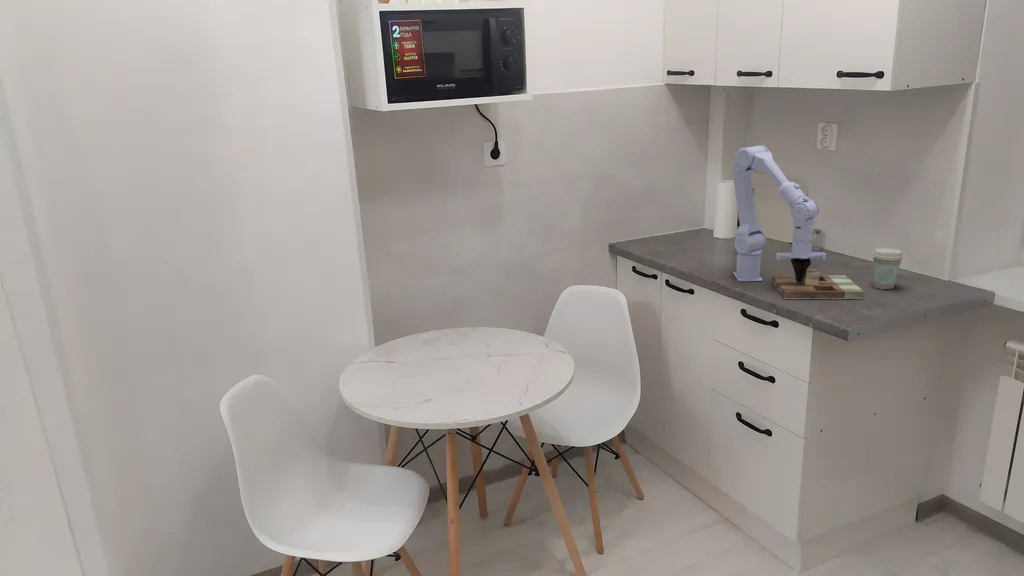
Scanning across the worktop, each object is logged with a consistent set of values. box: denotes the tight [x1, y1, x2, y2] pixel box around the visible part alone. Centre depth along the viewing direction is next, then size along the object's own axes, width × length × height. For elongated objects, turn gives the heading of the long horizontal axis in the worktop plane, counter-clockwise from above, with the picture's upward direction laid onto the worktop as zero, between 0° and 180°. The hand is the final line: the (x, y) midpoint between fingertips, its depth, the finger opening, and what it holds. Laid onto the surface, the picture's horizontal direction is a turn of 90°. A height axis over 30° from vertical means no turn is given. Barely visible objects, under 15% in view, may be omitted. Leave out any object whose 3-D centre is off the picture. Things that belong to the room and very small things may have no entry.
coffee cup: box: [872, 247, 904, 290], centre depth 225 cm, size 8×9×12 cm
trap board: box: [771, 275, 865, 300], centre depth 225 cm, size 17×23×2 cm
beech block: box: [802, 269, 821, 285], centre depth 224 cm, size 4×4×4 cm
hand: (798, 281), depth 225 cm, fingers closed
